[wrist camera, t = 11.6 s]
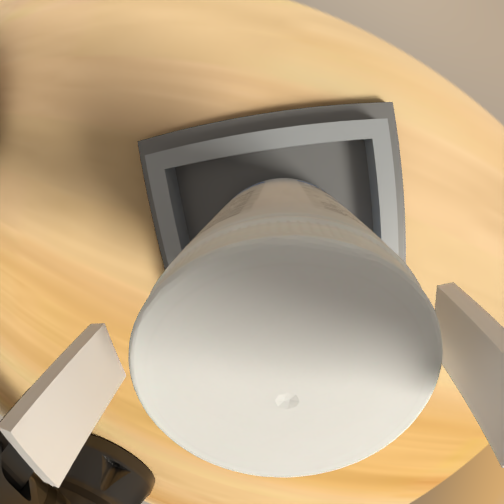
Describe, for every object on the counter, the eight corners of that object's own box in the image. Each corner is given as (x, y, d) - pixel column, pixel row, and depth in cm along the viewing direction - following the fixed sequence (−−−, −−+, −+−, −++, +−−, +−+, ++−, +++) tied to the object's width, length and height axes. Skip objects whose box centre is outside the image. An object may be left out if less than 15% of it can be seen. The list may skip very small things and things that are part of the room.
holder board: (193, 350, 27) (184, 371, 24) (143, 141, 21) (124, 141, 18) (398, 328, 24) (409, 348, 21) (388, 104, 19) (402, 97, 16)
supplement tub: (229, 311, 24) (173, 477, 10) (204, 187, 21) (69, 260, 7) (355, 297, 22) (417, 462, 8) (346, 167, 20) (468, 209, 6)
